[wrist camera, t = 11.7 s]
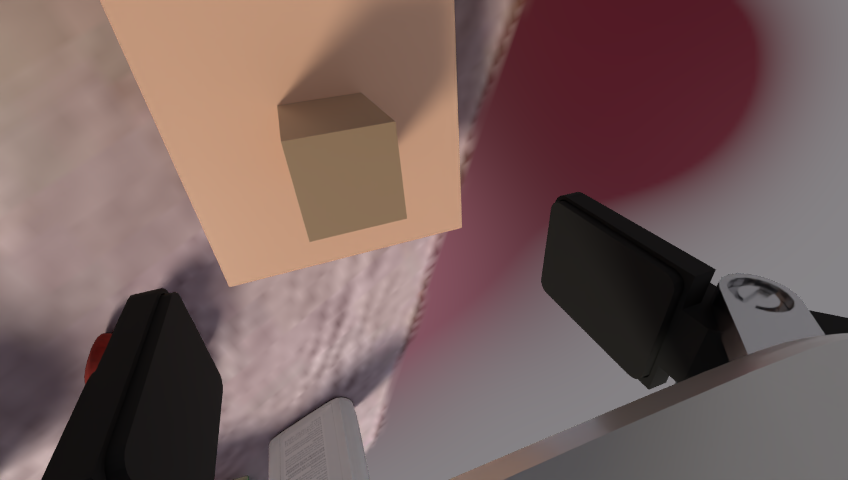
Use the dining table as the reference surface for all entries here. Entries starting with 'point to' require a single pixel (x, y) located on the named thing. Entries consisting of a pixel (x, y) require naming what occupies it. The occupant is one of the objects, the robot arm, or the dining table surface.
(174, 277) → the dining table surface
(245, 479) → the stack of blocks
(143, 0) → the cover
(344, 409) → the photo printer
